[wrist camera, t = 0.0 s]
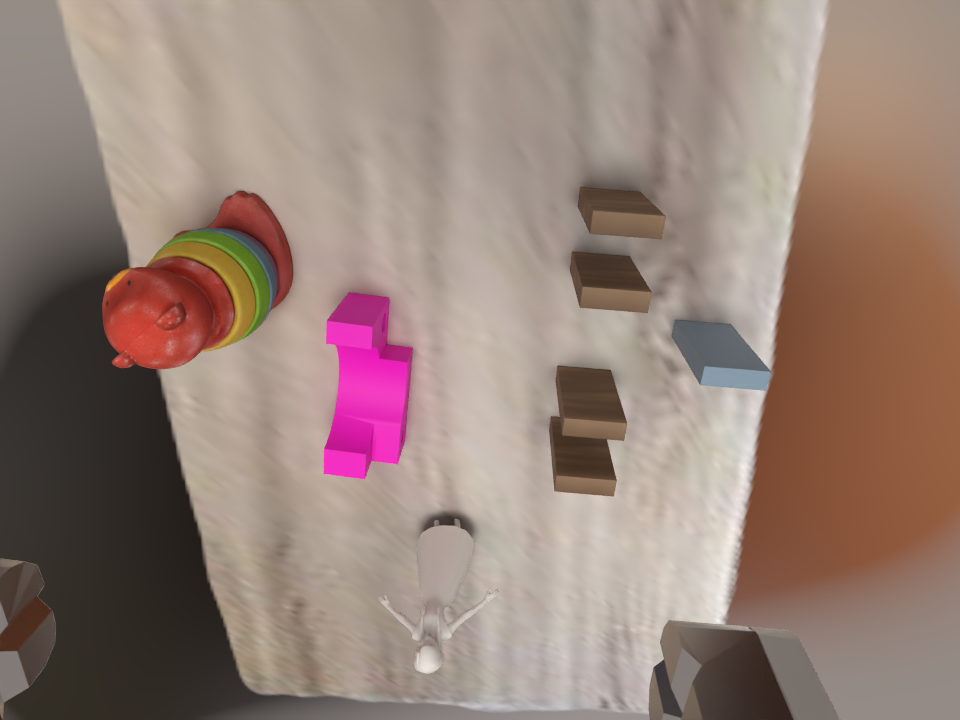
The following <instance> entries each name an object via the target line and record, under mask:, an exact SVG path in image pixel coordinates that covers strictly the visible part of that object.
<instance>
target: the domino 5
mask: <svg viewBox="0 0 960 720" xmlns="http://www.w3.org/2000/svg"><path fill="white" fill-rule="evenodd" d="M672 338H673V339H674V341H675V343H676V344H677V346H678V348H679V350H680V351H681V353H682V355H683V356H684V358H685V360H686V361H687V363H688V365H689V367H690V368H691V370H692V372H693V373H694V375H695V377H696V379H697V380H698V382H699V384H700V385H705V386H717V387H729V388H741V389H753V390H765V391H766V388H767V384H768V381H769V377H770V374H771V371H770V370H769V369H768V368H767V366H766V365H765V364H764V363H763V362H762V361H761V359H760V358H759V357H758V356H757V355H756V354H755V352H754V351H753V350H752V349H751V348H750V346H749V345H748V344H747V343H746V342H745V341H744V339H743V338H742V337H741V336H740V335H739V334H738V332H737V331H736V330H735V329H734V328H733V326H732V325H731V324H719V323H707V322H694V321H682V320H675V323H674V328H673V333H672Z"/></svg>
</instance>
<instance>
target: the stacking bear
mask: <svg viewBox="0 0 960 720" xmlns="http://www.w3.org/2000/svg"><path fill="white" fill-rule="evenodd" d="M292 276H293V271H292V260H291V255H290V251H289V247H288V244H287V241H286V238H285V235H284V233H283V231H282V229H281V227H280V225H279V223H278V221H277V220H276V218H275V216H274V215H273V213H272V212H271V211H270V209H269V208H268V207H267V206H266V204H265V203H264V202H263V201H262V200H261V199H260V198H259V197H258V196H256V195H255V194H247V193H245V192H242V191H239V192H236V193H235V194H234V195H233V196H229V197H227V198H226V199H225V200H224V202H223V203H222V205H221V207H220V211H219V213H218V216H217V218H216V219H215V220H214V222H213V223H212V224H211V225H210V226H208V227H207V228H204V229H198V230H194V231H183V232H180V233H178V234H176V235H175V236H174V238H173V239H172V240H170V241H169V242H168V243H167V244H166V245H164V246H163V247H162V248H161V249H160V250H159V251H158V252H157V253H156V255H155V256H154V257H153V259H152V260H151V261H150V262H149V263H148V265H147V266H146V267H136V268H129V269H126V270H123V271H121V272H118V273H116V274H115V275H113V276H112V278H111V279H110V281H109V283H108V285H107V287H106V291H105V294H104V298H103V323H104V329H105V333H106V336H107V338H108V339H109V342H110V343H111V345H112V346H113V347H114V348H115V349H116V351H117V352H118V353H119V355H118V356H117V357H116V358H115V359H114V360H113V361H112V363H113V365H115V366H117V367H120V368H127V367H131V366H132V365H134V364H138V365H140V366H143V367H148V368H153V369H168V368H175V367H179V366H181V365H184V364H186V363H187V362H189V361H190V360H192V359H193V358H195V357H196V356H197V355H198V354H199V353H200V352H201V351H211V350H216V349H219V348H222V347H225V346H227V345H230V344H233V343H235V342H237V341H239V340H241V339H243V338H245V337H247V336H248V335H249V334H251V333H252V332H253V331H255V330H256V329H257V328H258V327H259V326H260V325H261V324H262V323H263V321H264V320H265V319H266V317H267V315H268V314H269V312H270V310H271V309H273V308H274V307H276V306H277V305H278V304H280V303H281V302H282V301H283V299H284V298H285V297H286V295H287V294H288V292H289V289H290V287H291V283H292Z"/></svg>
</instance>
